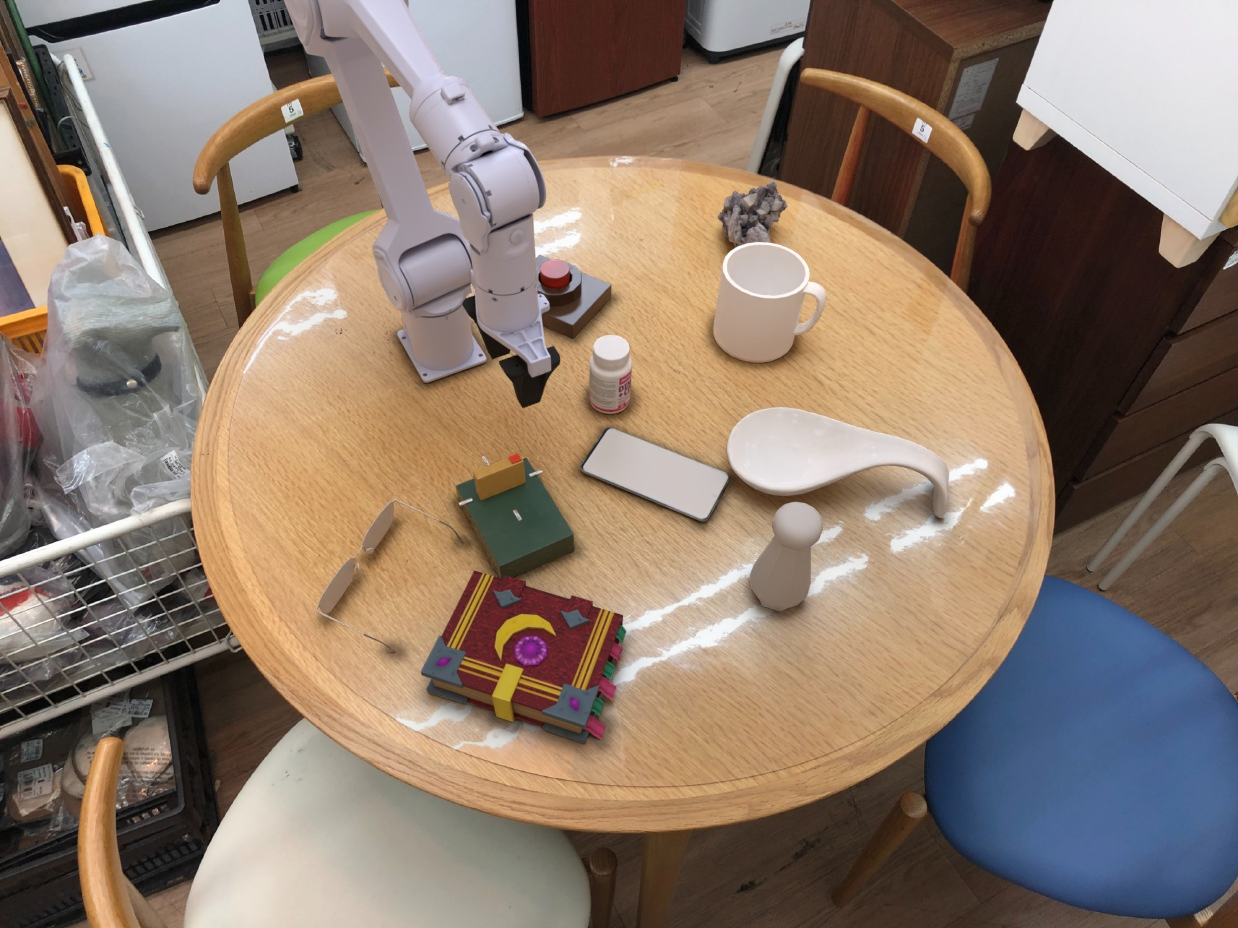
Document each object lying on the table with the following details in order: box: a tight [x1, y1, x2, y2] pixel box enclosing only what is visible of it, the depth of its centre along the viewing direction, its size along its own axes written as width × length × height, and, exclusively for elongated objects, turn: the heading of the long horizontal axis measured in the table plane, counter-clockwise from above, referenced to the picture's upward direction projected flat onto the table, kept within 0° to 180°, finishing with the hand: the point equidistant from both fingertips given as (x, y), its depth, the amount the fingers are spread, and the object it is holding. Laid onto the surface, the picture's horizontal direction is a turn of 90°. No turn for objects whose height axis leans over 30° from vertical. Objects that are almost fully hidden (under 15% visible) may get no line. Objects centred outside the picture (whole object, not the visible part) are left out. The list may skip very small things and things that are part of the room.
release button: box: [540, 258, 570, 289], centre depth 109 cm, size 4×4×2 cm
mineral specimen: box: [717, 180, 788, 248], centre depth 119 cm, size 12×9×10 cm
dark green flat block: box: [455, 455, 575, 579], centre depth 91 cm, size 13×9×3 cm
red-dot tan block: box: [472, 453, 526, 501], centre depth 89 cm, size 5×1×4 cm, turn 118°
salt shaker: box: [749, 501, 824, 613], centre depth 82 cm, size 6×6×13 cm
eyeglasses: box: [314, 498, 465, 653], centre depth 86 cm, size 14×8×4 cm, turn 157°
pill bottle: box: [588, 334, 633, 415], centre depth 99 cm, size 5×5×8 cm
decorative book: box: [420, 569, 627, 745], centre depth 80 cm, size 11×16×5 cm
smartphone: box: [580, 426, 731, 522], centre depth 96 cm, size 7×1×15 cm
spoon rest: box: [726, 406, 950, 519], centre depth 93 cm, size 24×12×7 cm, turn 77°
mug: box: [712, 242, 827, 364], centre depth 106 cm, size 13×10×10 cm
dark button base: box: [536, 254, 612, 339], centre depth 111 cm, size 11×9×4 cm
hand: (514, 378), depth 92 cm, fingers open, 7 cm apart
